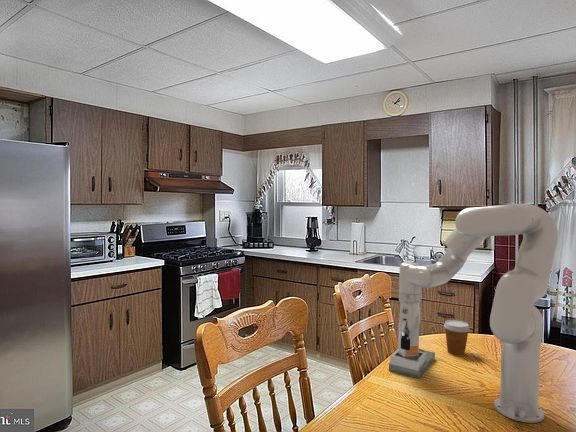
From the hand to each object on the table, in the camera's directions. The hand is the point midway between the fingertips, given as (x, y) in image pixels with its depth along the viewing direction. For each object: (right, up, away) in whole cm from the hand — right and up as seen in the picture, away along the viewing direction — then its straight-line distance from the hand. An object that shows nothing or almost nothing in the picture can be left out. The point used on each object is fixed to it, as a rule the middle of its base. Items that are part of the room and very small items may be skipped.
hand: (408, 345), depth 141 cm
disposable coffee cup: (+24, -8, +16) cm, 30 cm away
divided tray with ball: (+3, -8, +4) cm, 10 cm away
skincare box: (0, -3, 0) cm, 3 cm away
